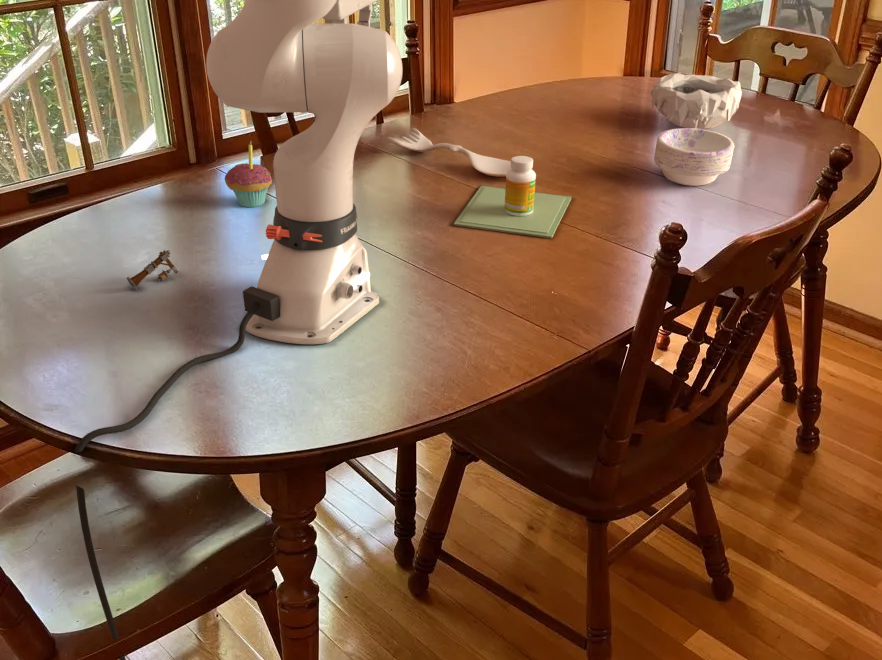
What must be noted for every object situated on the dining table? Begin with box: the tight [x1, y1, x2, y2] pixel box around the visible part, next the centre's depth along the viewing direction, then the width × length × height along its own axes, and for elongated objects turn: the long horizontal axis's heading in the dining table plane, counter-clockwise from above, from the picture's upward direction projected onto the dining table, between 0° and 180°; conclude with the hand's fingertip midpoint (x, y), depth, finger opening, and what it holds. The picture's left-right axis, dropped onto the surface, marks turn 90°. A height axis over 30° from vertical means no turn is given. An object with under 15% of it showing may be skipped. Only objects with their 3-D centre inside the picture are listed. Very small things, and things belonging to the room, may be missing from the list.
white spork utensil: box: [387, 127, 512, 178], centre depth 191 cm, size 9×32×4 cm, turn 52°
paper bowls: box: [653, 127, 735, 187], centre depth 185 cm, size 15×15×8 cm
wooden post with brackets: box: [125, 249, 179, 291], centre depth 145 cm, size 2×8×4 cm, turn 131°
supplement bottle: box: [504, 155, 537, 216], centre depth 167 cm, size 5×5×10 cm
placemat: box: [453, 185, 572, 239], centre depth 171 cm, size 20×18×1 cm
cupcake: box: [224, 140, 273, 208], centre depth 169 cm, size 9×8×12 cm
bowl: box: [650, 72, 743, 130], centre depth 213 cm, size 21×20×10 cm
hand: (354, 38), depth 156 cm, fingers open, 8 cm apart
